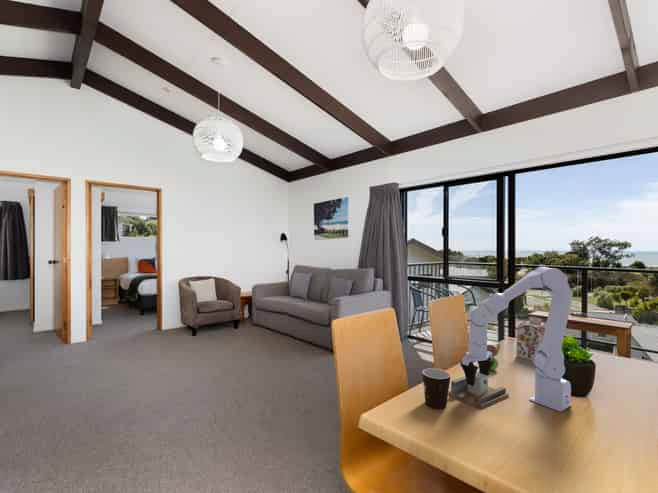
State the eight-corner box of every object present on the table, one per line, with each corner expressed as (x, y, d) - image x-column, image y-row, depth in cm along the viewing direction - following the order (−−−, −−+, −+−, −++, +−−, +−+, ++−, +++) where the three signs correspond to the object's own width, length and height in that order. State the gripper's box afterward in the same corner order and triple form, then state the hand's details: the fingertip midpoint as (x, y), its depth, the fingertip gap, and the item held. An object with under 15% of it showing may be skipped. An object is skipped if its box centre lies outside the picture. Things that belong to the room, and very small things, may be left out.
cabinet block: (489, 394, 114) (489, 376, 114) (482, 397, 112) (482, 379, 112) (474, 388, 119) (474, 371, 119) (467, 390, 117) (467, 373, 117)
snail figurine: (503, 372, 137) (503, 342, 137) (487, 372, 137) (487, 342, 137) (496, 367, 143) (497, 339, 142) (481, 367, 143) (481, 338, 143)
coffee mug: (425, 396, 115) (426, 366, 115) (452, 402, 110) (453, 371, 110) (415, 410, 105) (416, 378, 105) (444, 418, 100) (445, 384, 100)
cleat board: (508, 396, 115) (509, 382, 115) (481, 409, 106) (481, 393, 106) (476, 384, 125) (476, 370, 125) (448, 394, 116) (448, 380, 116)
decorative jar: (525, 352, 164) (526, 314, 164) (553, 358, 155) (554, 319, 155) (515, 357, 156) (516, 318, 156) (543, 364, 147) (544, 322, 147)
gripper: (479, 336, 123) (478, 373, 124) (454, 342, 115) (453, 382, 115) (498, 341, 118) (497, 380, 118) (473, 348, 109) (472, 390, 110)
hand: (477, 382), depth 116 cm, fingers open, 7 cm apart
